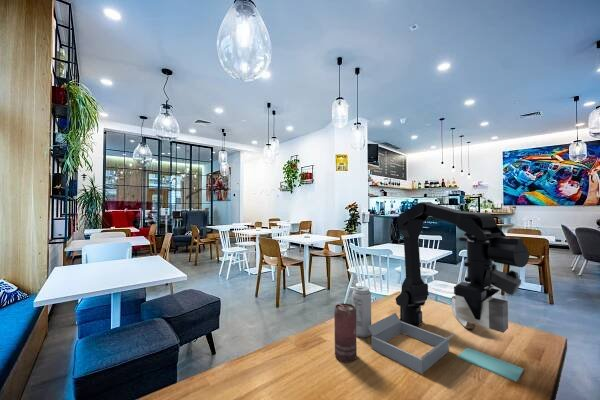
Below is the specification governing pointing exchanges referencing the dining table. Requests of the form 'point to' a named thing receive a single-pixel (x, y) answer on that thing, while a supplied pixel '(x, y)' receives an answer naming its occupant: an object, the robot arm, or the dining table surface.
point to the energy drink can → (362, 310)
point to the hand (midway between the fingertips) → (480, 317)
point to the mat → (491, 364)
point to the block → (485, 313)
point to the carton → (394, 327)
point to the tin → (463, 323)
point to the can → (345, 332)
